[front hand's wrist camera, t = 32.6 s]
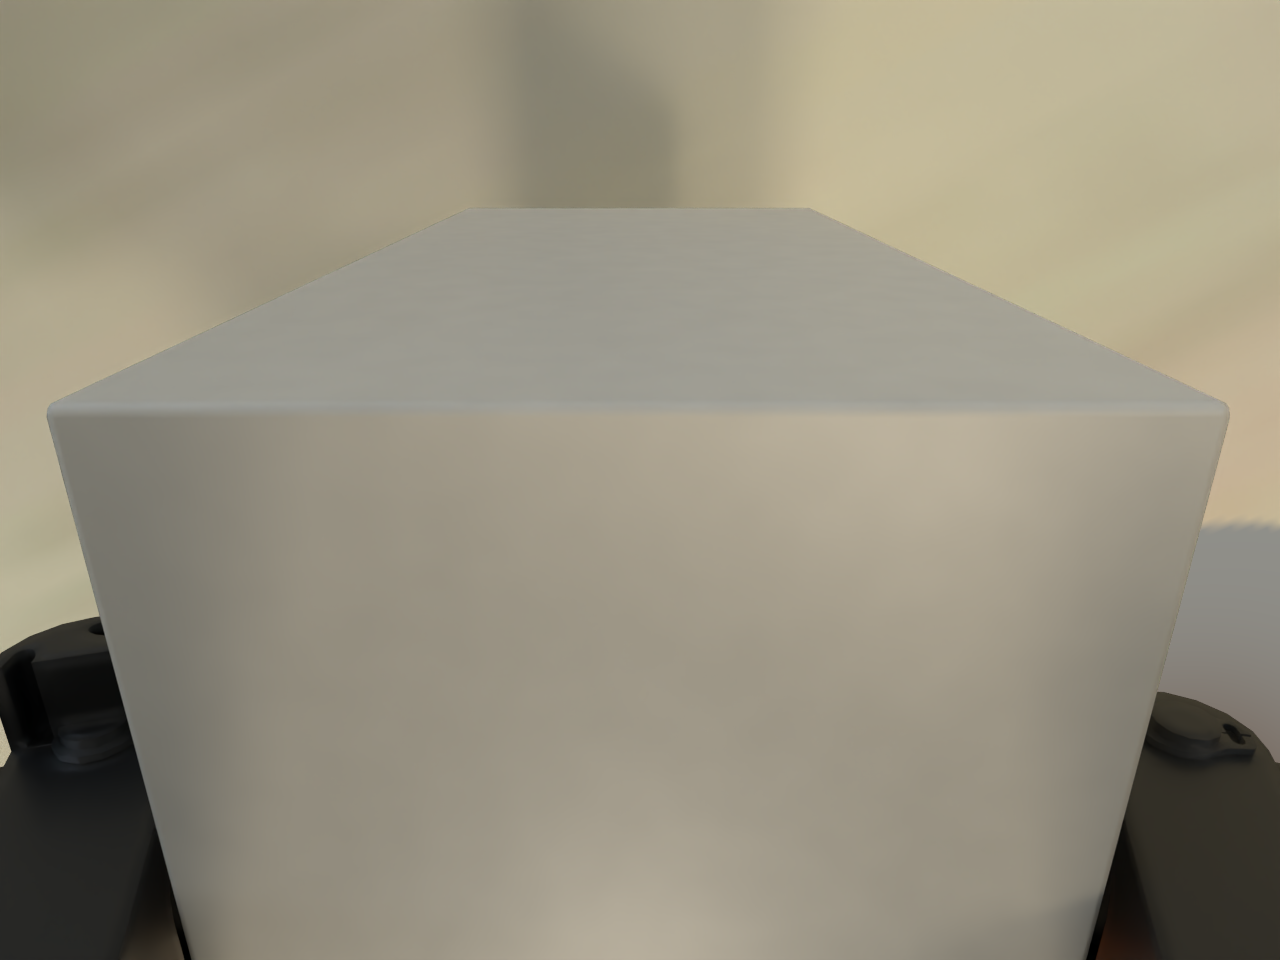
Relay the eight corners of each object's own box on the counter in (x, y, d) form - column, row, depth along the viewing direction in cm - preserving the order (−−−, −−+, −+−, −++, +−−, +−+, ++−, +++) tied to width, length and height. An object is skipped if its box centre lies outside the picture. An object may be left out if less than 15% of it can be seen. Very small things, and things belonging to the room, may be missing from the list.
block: (781, 653, 19) (978, 1381, 8) (497, 653, 19) (299, 1383, 8) (812, 207, 15) (1242, 403, 4) (465, 207, 15) (35, 403, 4)
